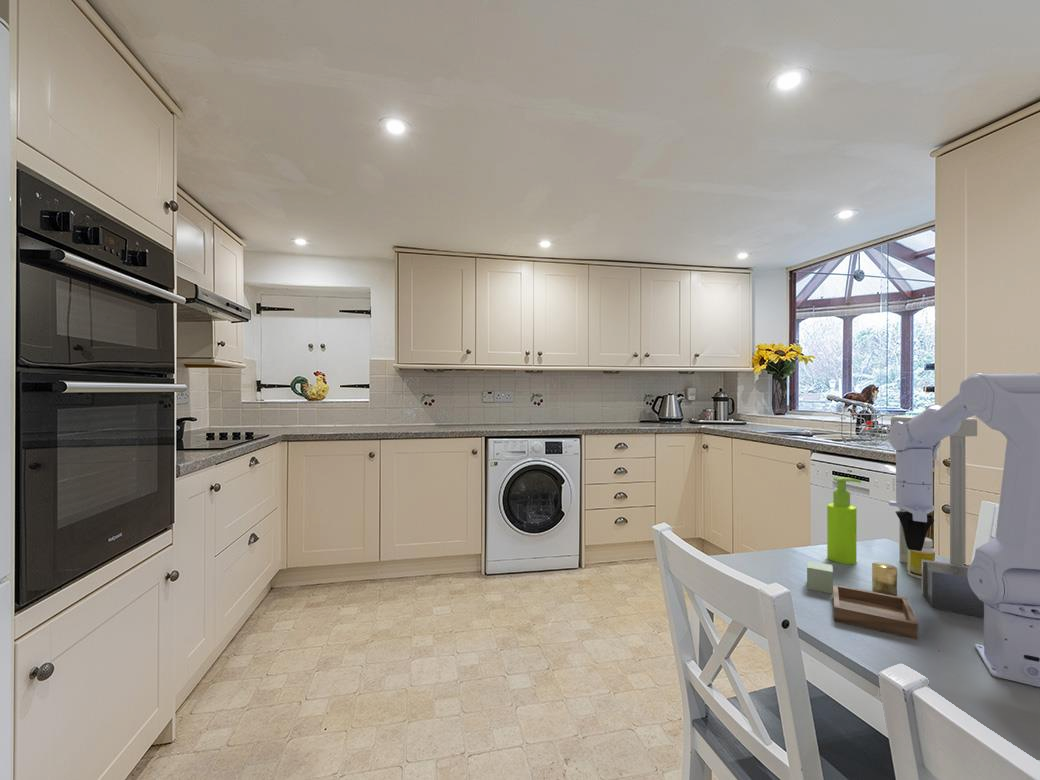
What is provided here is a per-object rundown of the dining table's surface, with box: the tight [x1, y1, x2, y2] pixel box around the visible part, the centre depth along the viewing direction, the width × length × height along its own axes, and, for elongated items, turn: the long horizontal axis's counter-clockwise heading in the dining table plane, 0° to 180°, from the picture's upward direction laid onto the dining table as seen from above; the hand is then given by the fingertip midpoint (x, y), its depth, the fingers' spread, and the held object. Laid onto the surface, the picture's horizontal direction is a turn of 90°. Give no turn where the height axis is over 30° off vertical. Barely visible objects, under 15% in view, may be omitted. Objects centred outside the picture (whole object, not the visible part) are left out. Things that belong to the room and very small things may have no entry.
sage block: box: [806, 560, 834, 594], centre depth 99 cm, size 4×4×4 cm
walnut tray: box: [832, 584, 919, 640], centre depth 86 cm, size 12×12×2 cm
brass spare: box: [871, 562, 898, 596], centre depth 95 cm, size 4×4×6 cm
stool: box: [890, 414, 978, 566], centre depth 114 cm, size 16×16×35 cm
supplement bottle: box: [906, 537, 936, 580], centre depth 105 cm, size 5×5×8 cm
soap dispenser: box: [826, 476, 862, 565], centre depth 115 cm, size 6×7×20 cm
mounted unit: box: [921, 560, 984, 619], centre depth 90 cm, size 8×9×7 cm
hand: (914, 549), depth 95 cm, fingers closed
